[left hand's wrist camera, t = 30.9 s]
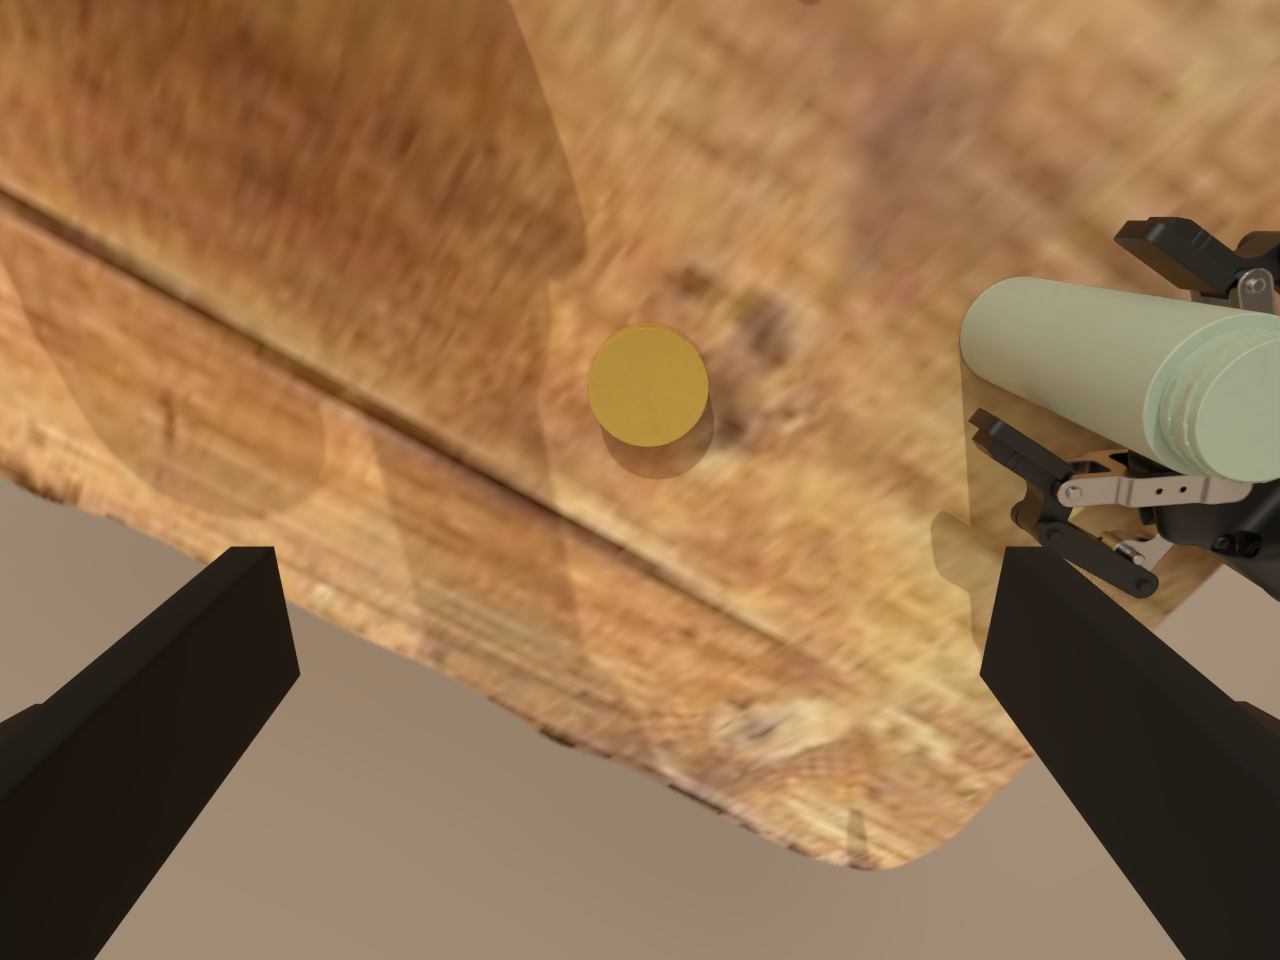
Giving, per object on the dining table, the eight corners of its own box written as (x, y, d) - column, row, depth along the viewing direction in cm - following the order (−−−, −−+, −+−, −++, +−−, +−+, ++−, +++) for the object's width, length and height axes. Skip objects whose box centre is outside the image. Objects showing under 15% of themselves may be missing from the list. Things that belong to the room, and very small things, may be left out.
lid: (682, 450, 35) (684, 462, 34) (576, 416, 35) (572, 426, 33) (722, 344, 34) (726, 350, 32) (610, 306, 33) (608, 310, 31)
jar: (940, 318, 33) (1152, 390, 19) (1040, 253, 32) (1340, 281, 18) (987, 403, 34) (1216, 527, 21) (1084, 344, 33) (1393, 433, 20)
